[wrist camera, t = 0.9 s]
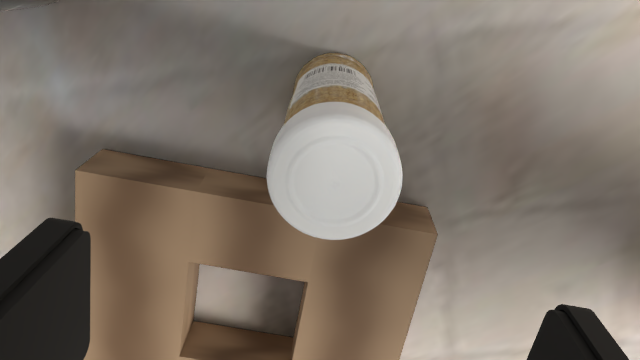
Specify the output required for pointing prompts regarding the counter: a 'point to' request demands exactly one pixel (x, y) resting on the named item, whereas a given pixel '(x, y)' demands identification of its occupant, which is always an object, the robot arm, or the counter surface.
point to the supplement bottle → (23, 4)
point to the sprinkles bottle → (334, 153)
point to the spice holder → (235, 266)
